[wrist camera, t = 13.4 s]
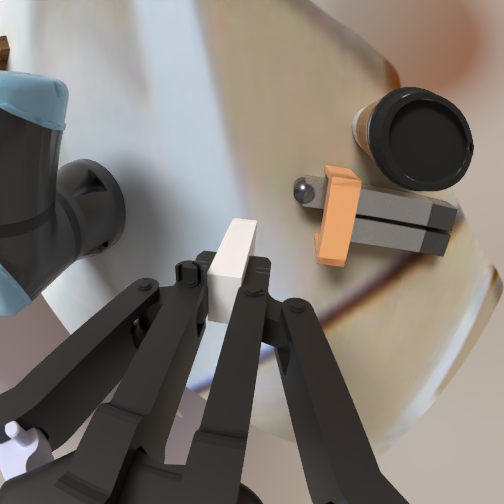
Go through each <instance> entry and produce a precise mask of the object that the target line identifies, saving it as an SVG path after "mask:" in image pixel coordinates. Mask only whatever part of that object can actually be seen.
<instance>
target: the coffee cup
mask: <svg viewBox="0 0 504 504" xmlns="http://www.w3.org/2000/svg"><path fill="white" fill-rule="evenodd" d="M352 131H353V136H354V138H355V140H356V142H357V143H358V145H359V146H360V147H361V148H362V149H364V151H365V152H366V153H367V154H368V155H369V156H370V157H371V158H372V159H373V160H374V161H375V162H376V164H377V165H378V167H379V168H380V170H381V171H382V172H383V174H384V175H385V176H386V177H387V178H389V179H390V180H391V181H392V182H394V183H395V184H397V185H399V186H401V187H403V188H406V189H409V190H414V191H439V190H444V189H447V188H449V187H451V186H453V185H454V184H456V183H457V182H459V181H460V180H461V178H462V177H463V176H464V175H465V173H466V171H467V169H468V167H469V165H470V162H471V158H472V155H473V150H474V145H473V139H472V135H471V131H470V128H469V125H468V123H467V121H466V119H465V117H464V116H463V114H462V113H461V111H460V110H459V109H458V108H457V107H456V106H455V105H454V104H452V103H451V102H450V101H448V100H447V99H445V98H443V97H441V96H439V95H436V94H434V93H432V92H430V91H428V90H425V89H421V88H416V87H404V88H399V89H396V90H394V91H392V92H390V93H388V94H387V95H386V96H384V97H383V98H382V99H380V100H378V101H376V102H374V103H372V104H370V105H369V106H367V107H364V108H363V109H361V110H360V111H359V112H358V113H357V114H356V115H355V117H354V120H353V123H352Z"/></svg>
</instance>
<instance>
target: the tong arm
mask: <svg viewBox="0 0 504 504" xmlns="http://www.w3.org/2000/svg"><path fill="white" fill-rule="evenodd" d="M449 239H450V235H449V234H448V233H447V232H446V231H445V230H443V229H438V228H433V227H428V226H424V225H419V224H414V223H408V222H403V221H397V220H391V219H385V218H380V217H373V216H367V215H361V214H356V216H355V221H354V225H353V230H352V235H351V239H350V242H356V243H363V244H370V245H376V246H383V247H389V248H396V249H402V250H408V251H415V252H420V253H425V254H431V255H437V256H444V253H445V251H446V248H447V245H448V242H449Z"/></svg>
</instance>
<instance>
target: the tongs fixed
mask: <svg viewBox="0 0 504 504" xmlns="http://www.w3.org/2000/svg"><path fill="white" fill-rule="evenodd" d="M328 180H329V179H328V178H323V177H316V176H308V175H305V177H302V178H299V179H297V180H296V181H295V183H294V197H295V199H296V200H297V201H298V202H299V203H302V204H303V206H304V207H312V208H320V209H324V207H325V200H326V194H327V187H328ZM457 210H458V209H456V208H455V207H453V206H452V205H451V204H449V203H448V202H446V201H442V200H438V199H434V198H429V197H425V196H421V195H416V194H412V193H407V192H403V191H398V190H393V189H388V188H383V187H378V186H372V185H367V184H361V190H360V195H359V200H358V206H357V211H356V214H361V215H367V216H373V217H380V218H385V219H391V220H397V221H403V222H408V223H414V224H419V225H424V226H428V227H433V228H438V229H443V230H448V231H451V230H452V227H453V224H454V220H455V217H456V213H457Z"/></svg>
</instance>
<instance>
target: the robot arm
mask: <svg viewBox="0 0 504 504" xmlns="http://www.w3.org/2000/svg"><path fill="white" fill-rule="evenodd" d="M68 98H69V92H68V88H67V86H66V85H65V84H64V83H63V82H62V81H61V80H58V79H55V78H51V77H46V76H41V75H35V74H29V73H22V72H14V71H1V70H0V315H1V316H4V317H13V316H15V315H16V314H18V313H19V312H20V311H21V310H22V309H23V308H25V307H26V306H27V305H30V304H31V303H32V301H33V300H34V299H35V298H36V297H37V296H38V295H39V294H40V293H41V292H42V291H43V290H44V289H45V288H46V287H47V286H48V285H49V284H51V283H52V282H53V281H54V280H55V279H56V278H57V277H58V276H59V275H60V274H61V273H62V272H63V271H65V270H66V269H67V268H68V267H69V266H70V265H71V264H72V263H74V262H75V261H76V260H80V259H83V258H87V257H90V256H94V255H97V254H100V253H102V252H104V251H106V250H107V249H108V248H109V247H111V246H112V245H113V244H114V243H115V242H116V241H117V240H118V239H119V237H120V235H121V233H122V231H123V228H124V223H125V206H124V201H123V197H122V194H121V191H120V189H119V186H118V184H117V183H116V181H115V179H114V178H113V176H112V175H111V174H110V173H109V171H108V170H107V169H105V168H104V167H103V166H102V165H100V164H99V163H97V162H95V161H92V160H87V159H81V160H76V161H73V162H71V163H68V164H66V165H64V166H62V167H61V168H60V169H59V170H58V161H59V153H60V146H61V140H62V134H63V131H64V130H65V128H66V124H65V116H66V109H67V103H68ZM57 170H58V171H57ZM256 228H257V221H255V220H246V219H237V218H233V220H232V222H231V224H230V226H229V228H228V230H227V233H226V235H225V237H224V239H223V241H222V243H221V245H220V247H219V249H218V251H217V252H210V251H203V252H202V253H200V254H199V255H198V256H197V258H196V259H195V261H182V262H180V263H178V264H177V265H176V266H175V271H176V283H175V285H174V286H168V287H159V283H158V282H157V281H156V280H154V279H151V278H143V279H139V280H137V281H135V282H134V283H132V284H131V285H130V286H129V287H127V288H126V289H125V290H124V291H123V292H121V293H120V294H119V295H118V296H116V297H115V298H114V299H113V300H112V301H110V302H109V303H108V304H107V305H106V306H104V307H103V308H102V309H101V310H100V311H98V312H97V313H96V314H95V315H94V316H92V317H91V318H90V319H89V320H88V321H87V322H85V323H84V324H83V325H82V326H81V327H80V328H79V329H77V330H76V331H75V332H74V333H73V334H72V335H71V336H69V337H68V338H67V339H66V340H65V341H64V342H63V343H61V344H60V345H59V346H58V347H57V348H56V349H55V350H54V351H53V352H51V354H50V355H48V356H47V357H46V358H45V359H44V360H43V361H42V362H41V363H39V365H37V366H36V367H35V368H34V369H33V370H32V371H31V372H30V373H29V374H28V375H27V376H26V377H25V378H24V379H23V380H22V381H20V382H19V383H18V384H17V385H16V386H15V387H14V388H12V389H10V390H8V391H6V392H4V393H2V394H0V469H1V472H2V474H3V477H4V479H5V481H6V482H5V483H4V484H3V485H2V487H1V488H0V504H263V503H262V501H261V500H260V499H259V497H258V496H257V495H256V494H255V493H254V492H253V491H252V490H251V489H249V488H248V487H247V486H245V485H244V484H242V483H241V482H240V480H241V474H242V468H243V462H244V456H245V450H246V444H247V437H248V430H249V424H250V417H251V411H252V404H253V397H254V391H255V384H256V377H257V370H258V363H259V355H260V348H261V342H263V343H266V344H268V345H271V346H274V351H275V355H276V359H277V363H278V367H279V371H280V375H281V379H282V384H283V388H284V392H285V396H286V400H287V404H288V408H289V412H290V416H291V421H292V425H293V429H294V433H295V437H296V441H297V445H298V449H299V453H300V457H301V461H302V465H303V470H304V474H305V478H306V482H307V486H308V490H309V493H310V496H311V499H312V502H313V504H409V503H408V502H407V501H406V499H404V498H403V496H402V495H401V494H400V493H399V492H398V491H397V490H396V489H395V488H394V487H393V485H392V484H391V483H390V482H389V481H388V480H387V479H386V478H385V477H384V476H383V474H382V473H381V472H380V470H379V467H378V464H377V462H376V459H375V456H374V454H373V451H372V448H371V446H370V443H369V441H368V438H367V436H366V433H365V430H364V428H363V425H362V423H361V420H360V418H359V415H358V413H357V410H356V408H355V405H354V403H353V401H352V398H351V396H350V393H349V391H348V388H347V386H346V384H345V381H344V379H343V376H342V374H341V372H340V369H339V367H338V364H337V362H336V360H335V357H334V355H333V353H332V350H331V348H330V346H329V343H328V341H327V339H326V337H325V334H324V332H323V330H322V327H321V325H320V323H319V321H318V318H317V316H316V314H315V312H314V309H313V307H312V306H311V304H310V303H309V302H307V301H306V300H304V299H301V298H289V299H287V300H285V301H284V302H283V303H282V302H279V301H277V300H275V299H274V298H272V297H271V296H270V295H269V293H268V286H269V277H270V269H271V262H270V260H269V259H268V258H265V257H257V256H254V251H255V239H256ZM207 314H208V321H213V322H220V323H226V324H228V327H227V331H226V334H225V338H224V342H223V345H222V349H221V352H220V356H219V360H218V363H217V367H216V371H215V374H214V378H213V381H212V385H211V389H210V392H209V396H208V400H207V403H206V407H205V411H204V415H203V418H202V422H201V425H200V428H199V429H198V430H197V431H196V432H195V434H194V437H193V440H192V444H191V447H190V451H189V454H188V458H187V461H186V465H170V464H164V460H165V446H166V442H167V439H168V436H169V433H170V430H171V427H172V424H173V421H174V418H175V415H176V412H177V409H178V406H179V403H180V400H181V397H182V394H183V391H184V388H185V385H186V383H187V380H188V377H189V374H190V371H191V368H192V365H193V362H194V359H195V356H196V354H197V351H198V348H199V345H200V342H201V339H202V336H203V334H204V331H205V328H206V320H205V319H206V317H207ZM136 319H138V320H137V321H136V322H135V323H133V322H134V321H135V320H136ZM121 379H122V380H121ZM120 380H121V382H120ZM119 382H120V384H119V386H118V388H117V390H116V392H115V394H114V396H113V398H112V400H111V401H110V402H109V403H102V404H100V403H101V402H102V401H103V400H104V399H105V397H106V396H107V395H108V394H109V393H110V392H111V391H112V389H113V388H114V387H115V386H116V385H117V384H118V383H119ZM99 404H100V405H99ZM98 405H99V406H98ZM97 406H98V408H97ZM96 408H97V409H96ZM95 409H96V411H95V413H94V415H93V417H92V419H91V421H90V423H89V425H88V427H87V429H86V431H85V433H84V435H83V437H82V439H81V441H80V443H79V445H78V447H77V450H75V451H73V452H71V453H69V454H67V455H64V456H62V457H60V458H58V459H56V460H54V457H53V455H52V452H53V451H54V450H56V449H58V448H59V447H60V446H61V445H63V444H64V443H65V442H66V441H67V440H68V439H69V438H70V437H71V436H72V435H73V434H74V433H75V432H76V431H77V429H78V428H79V427H80V426H81V425H82V423H84V421H85V420H86V419H87V418H88V417H89V416H90V415H91V413H92V412H93V411H94V410H95Z"/></svg>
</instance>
